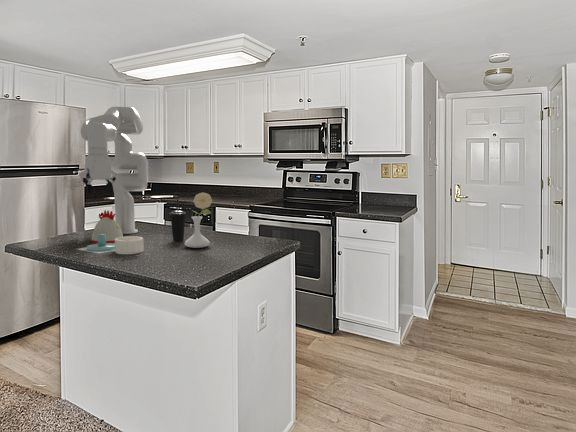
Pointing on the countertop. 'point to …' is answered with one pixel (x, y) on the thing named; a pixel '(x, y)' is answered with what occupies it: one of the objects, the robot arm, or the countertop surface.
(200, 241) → the flower in vase
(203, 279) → the countertop surface
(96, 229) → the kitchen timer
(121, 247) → the bowl
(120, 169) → the robot arm
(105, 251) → the mat
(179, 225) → the drinking cup
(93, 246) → the lid
